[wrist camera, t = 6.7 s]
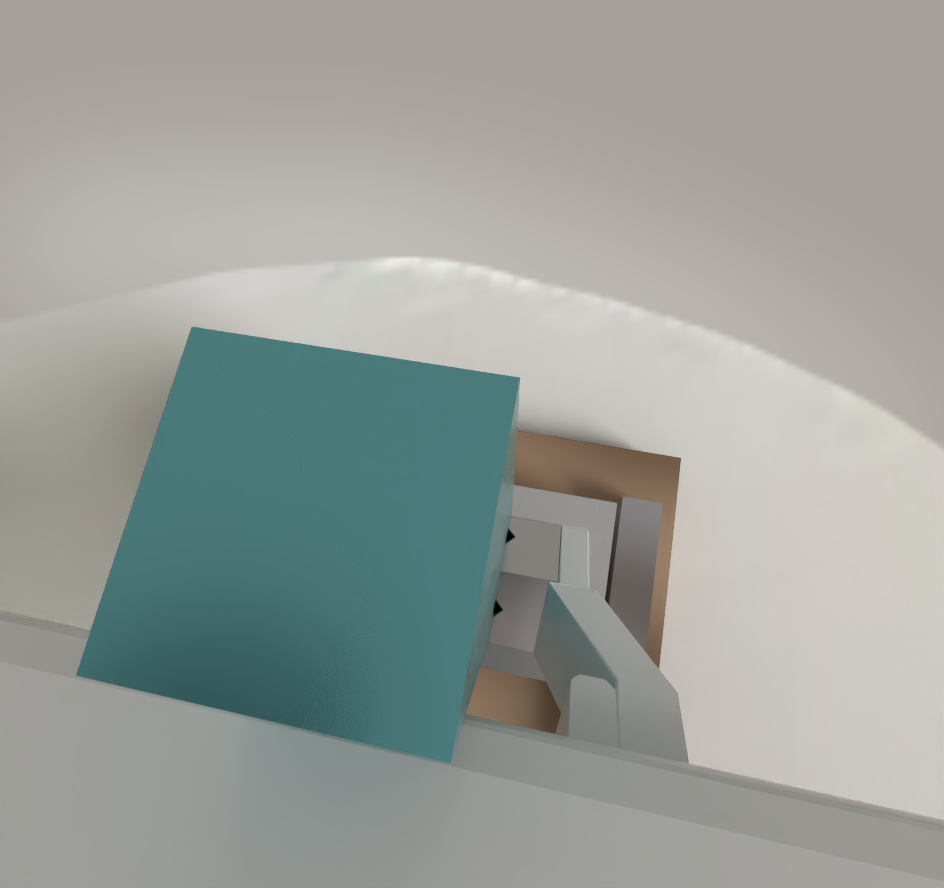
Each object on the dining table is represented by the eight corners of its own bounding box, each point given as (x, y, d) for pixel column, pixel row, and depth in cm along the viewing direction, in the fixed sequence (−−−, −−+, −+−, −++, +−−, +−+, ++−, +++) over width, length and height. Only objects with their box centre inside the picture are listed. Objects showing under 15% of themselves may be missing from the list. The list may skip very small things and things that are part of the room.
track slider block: (578, 672, 17) (978, 1201, 3) (335, 621, 18) (-401, 800, 3) (600, 515, 18) (962, 263, 4) (369, 474, 19) (-73, 137, 5)
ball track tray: (563, 1390, 15) (608, 2066, 8) (128, 1237, 16) (-144, 1707, 9) (664, 469, 21) (741, 415, 14) (338, 414, 22) (264, 341, 15)
